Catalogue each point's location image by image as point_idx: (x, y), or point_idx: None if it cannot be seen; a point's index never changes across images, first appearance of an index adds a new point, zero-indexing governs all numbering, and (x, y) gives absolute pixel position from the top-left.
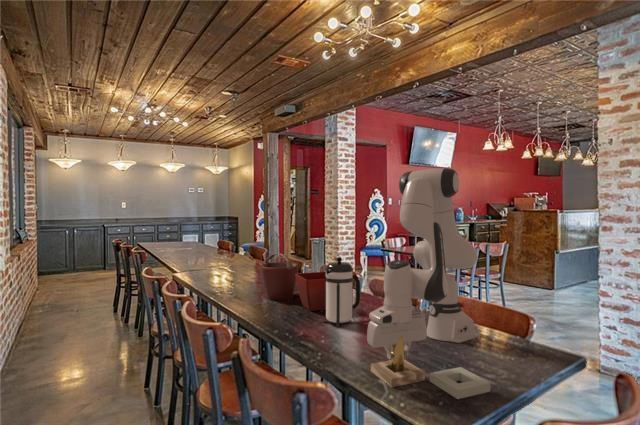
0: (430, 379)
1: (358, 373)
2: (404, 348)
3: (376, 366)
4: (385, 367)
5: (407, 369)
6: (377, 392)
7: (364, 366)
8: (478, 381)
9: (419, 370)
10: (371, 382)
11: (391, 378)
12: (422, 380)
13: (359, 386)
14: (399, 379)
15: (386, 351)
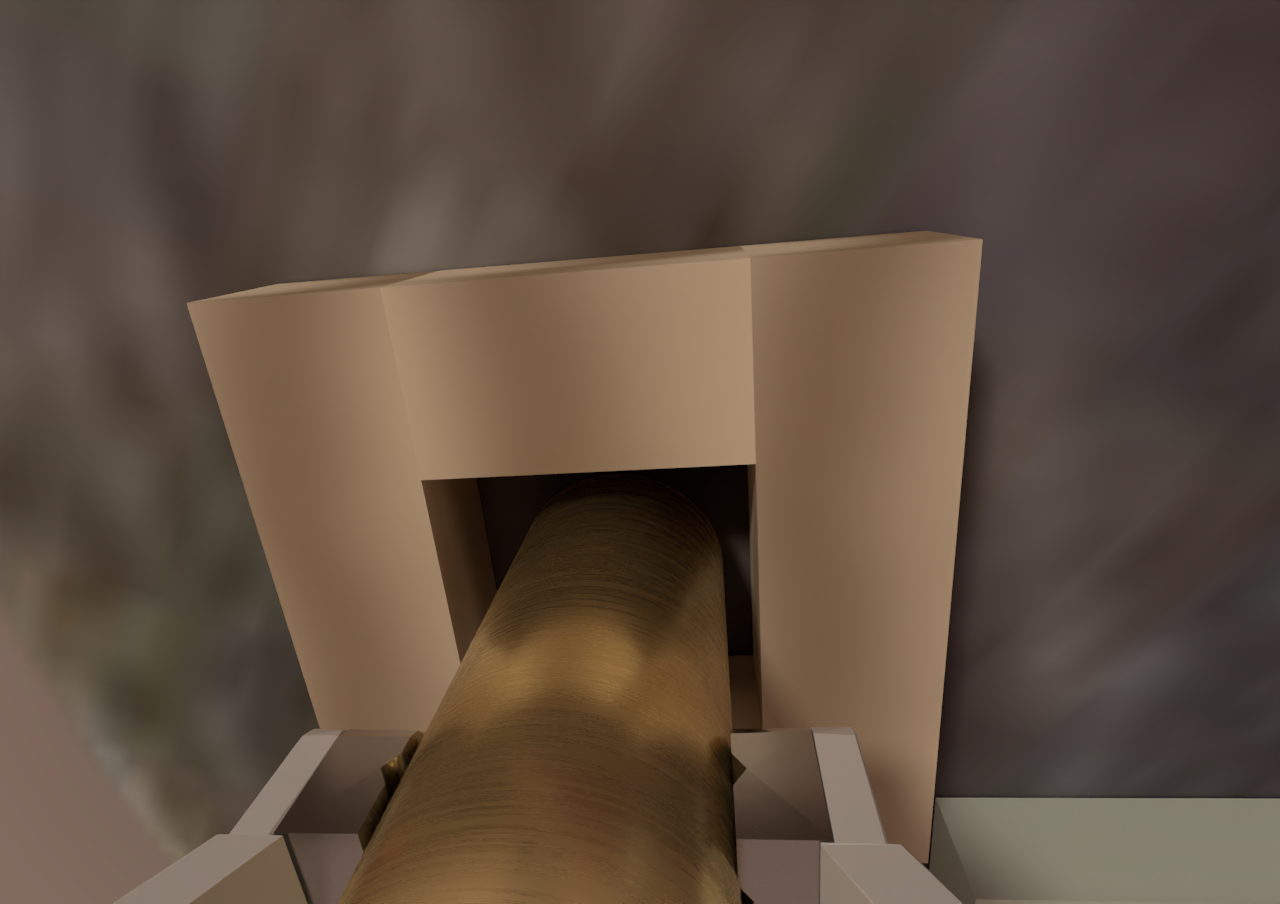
0: (945, 833)
1: (68, 287)
2: (837, 890)
3: (264, 450)
4: (409, 539)
5: (760, 667)
6: (223, 796)
7: (212, 26)
8: None
9: (896, 795)
10: (208, 595)
11: None
12: None
13: (46, 633)
14: None
15: (203, 856)
